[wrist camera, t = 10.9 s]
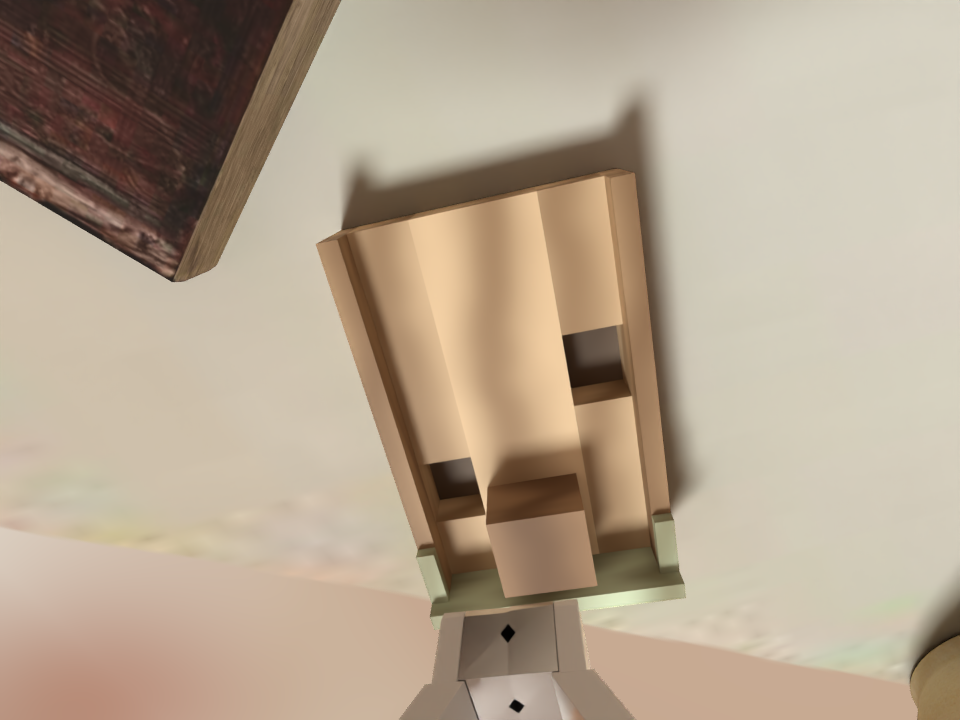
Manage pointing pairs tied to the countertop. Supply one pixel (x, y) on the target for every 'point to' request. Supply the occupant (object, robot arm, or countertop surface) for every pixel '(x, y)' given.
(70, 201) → the hardback book
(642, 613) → the countertop surface
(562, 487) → the block
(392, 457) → the box
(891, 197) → the countertop surface
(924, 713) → the planter bowl
